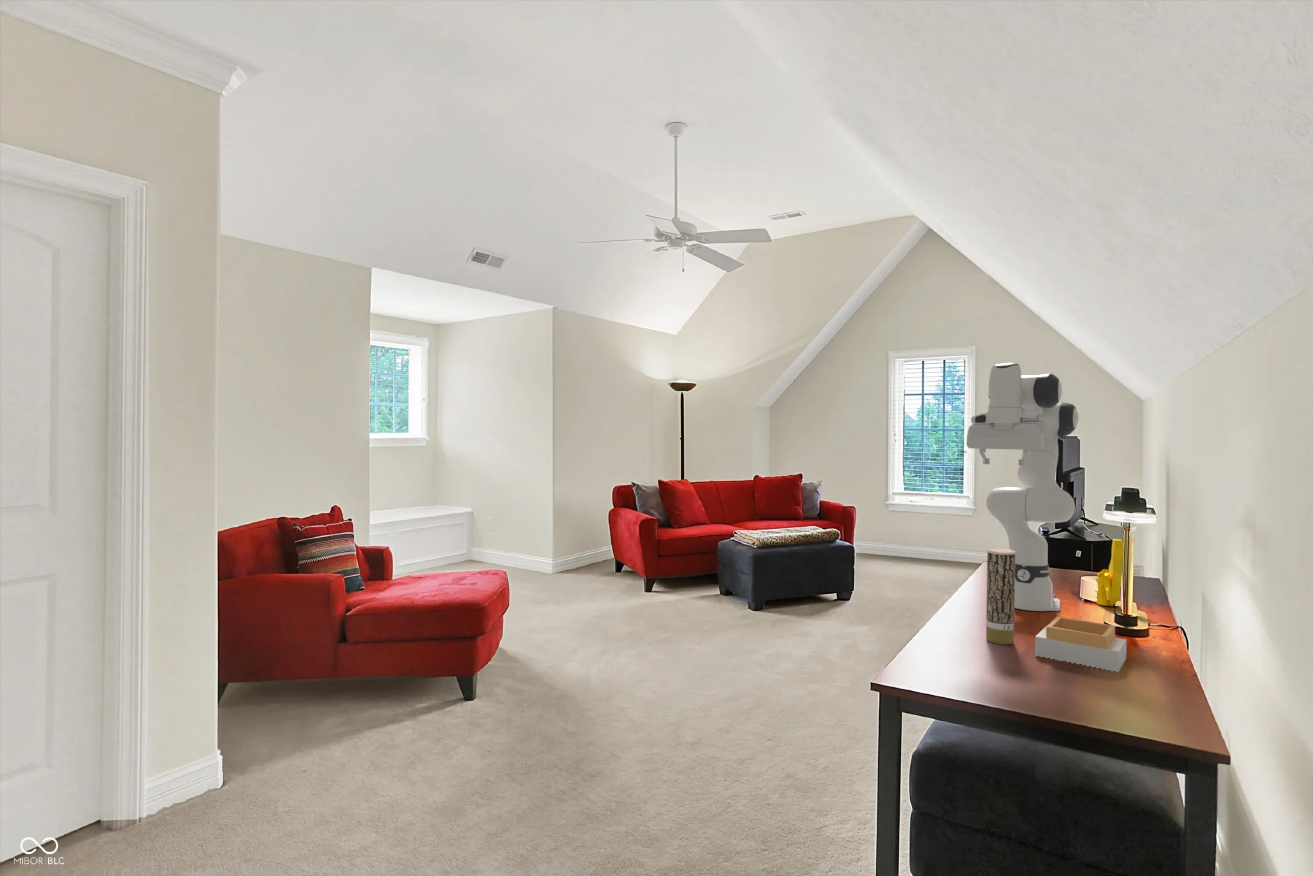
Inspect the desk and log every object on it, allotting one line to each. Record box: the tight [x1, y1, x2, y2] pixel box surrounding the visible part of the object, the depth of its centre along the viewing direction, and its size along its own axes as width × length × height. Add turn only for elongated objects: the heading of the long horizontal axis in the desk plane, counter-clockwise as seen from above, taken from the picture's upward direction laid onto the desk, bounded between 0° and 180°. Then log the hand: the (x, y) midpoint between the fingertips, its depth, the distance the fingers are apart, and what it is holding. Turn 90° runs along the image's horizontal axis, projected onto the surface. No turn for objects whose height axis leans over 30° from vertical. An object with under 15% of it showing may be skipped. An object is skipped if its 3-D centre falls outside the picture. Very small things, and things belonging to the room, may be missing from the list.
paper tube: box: [985, 548, 1015, 646], centre depth 189 cm, size 7×7×25 cm
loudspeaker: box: [1034, 616, 1128, 673], centre depth 177 cm, size 13×18×8 cm
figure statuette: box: [1095, 538, 1124, 607], centre depth 230 cm, size 18×8×22 cm, turn 158°
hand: (1003, 464), depth 204 cm, fingers open, 8 cm apart
